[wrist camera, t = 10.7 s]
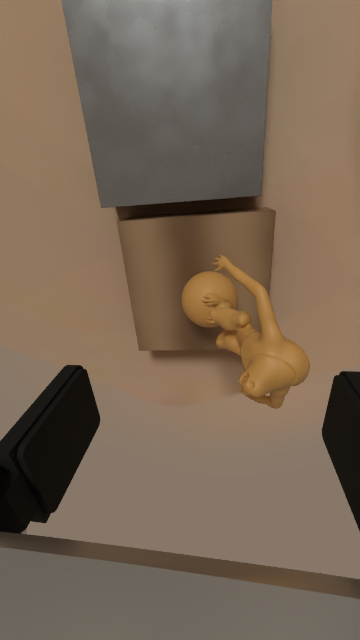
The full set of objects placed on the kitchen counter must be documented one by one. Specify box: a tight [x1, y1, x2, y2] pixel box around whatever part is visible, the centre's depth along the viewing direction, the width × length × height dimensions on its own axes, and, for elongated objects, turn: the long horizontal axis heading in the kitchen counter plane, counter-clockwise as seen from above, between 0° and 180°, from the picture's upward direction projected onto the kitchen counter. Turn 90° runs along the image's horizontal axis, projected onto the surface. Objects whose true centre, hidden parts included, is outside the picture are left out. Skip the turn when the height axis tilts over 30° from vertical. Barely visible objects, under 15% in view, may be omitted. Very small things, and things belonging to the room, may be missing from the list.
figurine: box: [182, 255, 310, 408], centre depth 15 cm, size 8×6×12 cm
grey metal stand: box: [62, 0, 272, 208], centre depth 17 cm, size 11×11×3 cm
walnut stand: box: [117, 208, 276, 351], centre depth 22 cm, size 11×11×3 cm
